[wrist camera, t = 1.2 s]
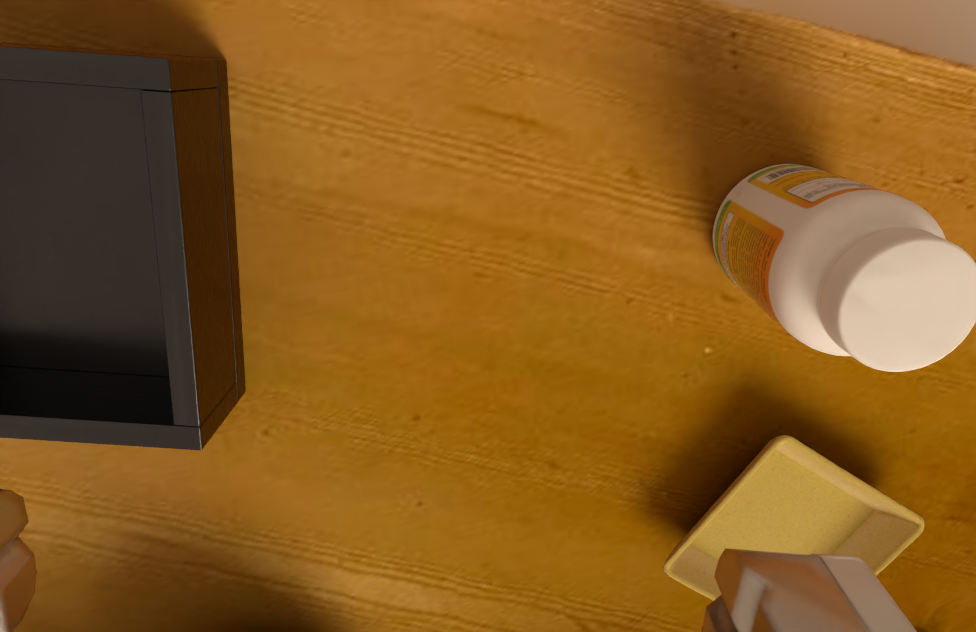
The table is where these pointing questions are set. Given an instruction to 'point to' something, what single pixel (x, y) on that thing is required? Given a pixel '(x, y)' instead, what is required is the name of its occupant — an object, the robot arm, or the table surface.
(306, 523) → the table surface
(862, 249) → the supplement bottle
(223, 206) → the open square tray
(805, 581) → the robot arm
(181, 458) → the table surface
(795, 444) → the saucer
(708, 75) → the table surface
